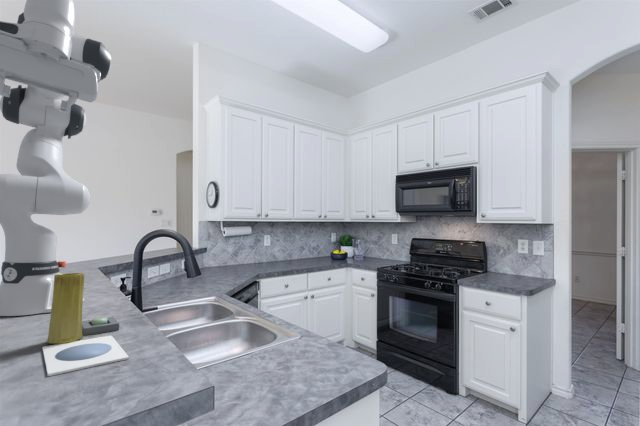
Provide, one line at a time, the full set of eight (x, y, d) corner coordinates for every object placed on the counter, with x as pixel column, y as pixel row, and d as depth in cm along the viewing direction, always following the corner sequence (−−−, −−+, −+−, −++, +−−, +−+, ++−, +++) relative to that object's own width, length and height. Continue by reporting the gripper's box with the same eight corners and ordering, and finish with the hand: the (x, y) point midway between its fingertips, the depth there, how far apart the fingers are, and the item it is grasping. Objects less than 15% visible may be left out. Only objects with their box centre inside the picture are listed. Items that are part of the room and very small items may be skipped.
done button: (90, 324, 79) (90, 318, 79) (105, 322, 81) (106, 316, 81) (92, 327, 77) (93, 321, 77) (108, 325, 79) (108, 319, 79)
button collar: (79, 328, 79) (79, 321, 79) (112, 323, 84) (113, 317, 84) (83, 335, 74) (84, 328, 74) (118, 329, 79) (119, 323, 79)
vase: (86, 335, 74) (90, 272, 75) (77, 342, 68) (81, 274, 70) (53, 338, 72) (58, 273, 73) (41, 345, 66) (47, 275, 68)
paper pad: (42, 348, 65) (42, 346, 65) (111, 337, 74) (111, 334, 74) (47, 376, 54) (47, 373, 54) (128, 359, 62) (129, 356, 62)
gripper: (99, 76, 80) (93, 124, 76) (-20, 36, 66) (-34, 93, 62) (103, 60, 75) (98, 111, 71) (-23, 15, 62) (-38, 75, 58)
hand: (35, 103), depth 67 cm, fingers open, 8 cm apart
